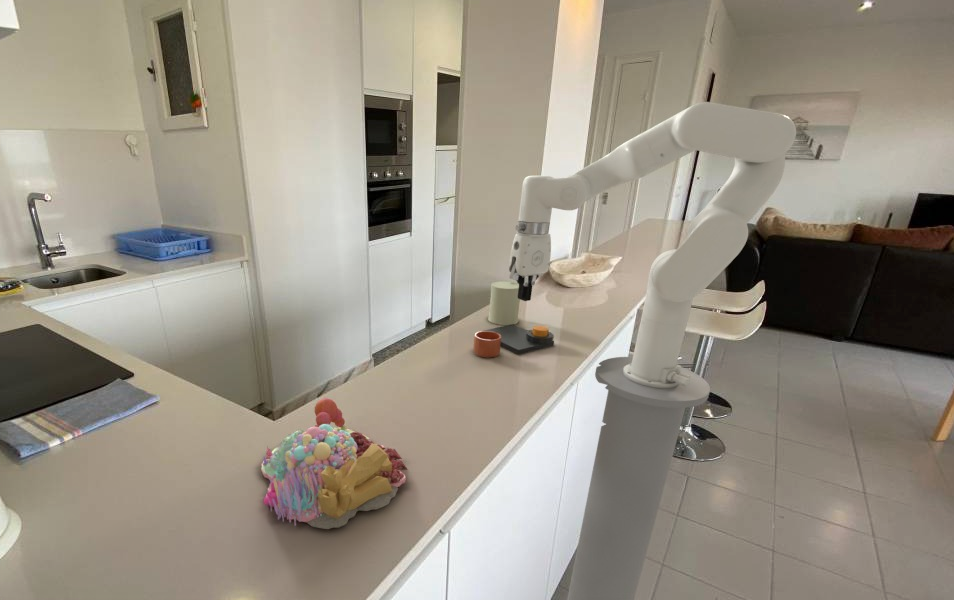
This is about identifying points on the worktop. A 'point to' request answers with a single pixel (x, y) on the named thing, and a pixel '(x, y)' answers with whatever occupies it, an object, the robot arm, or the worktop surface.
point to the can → (504, 303)
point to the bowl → (487, 343)
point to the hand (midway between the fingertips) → (523, 299)
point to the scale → (521, 339)
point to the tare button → (540, 331)
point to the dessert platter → (330, 472)
